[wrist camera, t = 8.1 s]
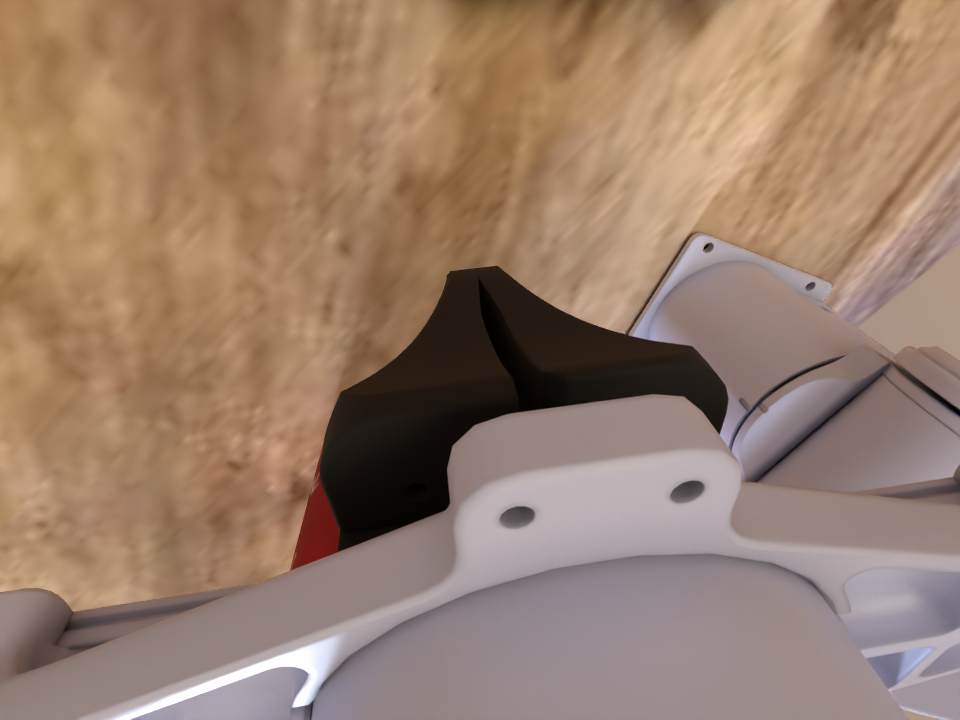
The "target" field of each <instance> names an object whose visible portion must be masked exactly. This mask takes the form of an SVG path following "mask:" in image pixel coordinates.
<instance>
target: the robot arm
mask: <svg viewBox="0 0 960 720" xmlns="http://www.w3.org/2000/svg"><path fill="white" fill-rule="evenodd" d="M708 243H710V244H709V247H708V248H707V249H704V250H703V248H704V246H705V245H706V244H708ZM809 283H810V284H809ZM808 284H809V285H808ZM807 285H808V286H807ZM806 286H807V287H806ZM831 290H832V285H831V284H830V283H829V282H827V281H825V280H823V279H820V278H818V277H815V276H813V275H810V274H807V273H805V272H802V271H800V270H797V269H795V268H792V267H789V266H787V265H784V264H782V263H779V262H777V261H774V260H771V259H769V258H766V257H764V256H761V255H759V254H756V253H753V252H751V251H748V250H746V249H743V248H741V247H738V246H735V245H733V244H730V243H728V242H725V241H723V240H720V239H717V238H715V237H712V236H710V235H707V234H705V233H700V232H699V233H696V234H694V235H692V236H691V237H690V239H689V240H688V242H687V243H686V245H685V246H684V248H683V249H682V251H681V252H680V254H679V256H678V257H677V259H676V260H675V262H674V263H673V265H672V267H671V268H670V270H669V271H668V273H667V274H666V276H665V277H664V279H663V281H662V282H661V284H660V285H659V287H658V288H657V290H656V292H655V293H654V295H653V296H652V298H651V299H650V301H649V302H648V304H647V306H646V307H645V309H644V310H643V312H642V313H641V315H640V317H639V318H638V320H637V321H636V323H635V324H634V326H633V327H632V329H631V331H630V332H629V334H628V335H625V334H621V333H618V332H614V331H611V330H608V329H605V328H602V327H599V326H596V325H593V324H590V323H588V322H585V321H582V320H580V319H578V318H576V317H574V316H572V315H569V314H567V313H565V312H563V311H561V310H559V309H557V308H556V307H554V306H552V305H550V304H549V303H547V302H545V301H544V300H542V299H541V298H539V297H538V296H536V295H535V294H533V293H532V292H530V291H529V290H527V289H526V288H525V287H523V286H522V285H521V284H519V283H518V282H517V281H516V280H514V279H513V278H512V277H510V276H509V275H508V274H507V273H506V272H504V271H503V270H502V269H501V268H499V267H498V266H492V267H483V268H475V269H466V270H457V271H450V272H449V274H448V275H447V279H446V284H445V287H444V290H443V293H442V295H441V297H440V299H439V302H438V304H437V306H436V308H435V310H434V312H433V313H432V315H431V317H430V318H429V320H428V322H427V323H426V325H425V326H424V328H423V329H422V331H421V332H420V333H419V335H418V336H417V337H416V338H415V339H414V341H413V342H412V343H411V344H410V345H409V346H408V347H407V348H406V349H405V350H404V351H403V352H402V353H401V354H400V355H399V356H398V357H397V358H395V359H394V360H393V361H392V362H390V363H389V364H388V365H386V366H385V367H384V368H382V369H381V370H379V371H378V372H376V373H375V374H373V375H372V376H370V377H368V378H367V379H365V380H363V381H361V382H359V383H358V384H356V385H354V386H352V387H350V388H348V389H346V390H344V391H342V392H341V393H340V395H339V398H338V400H337V402H336V405H335V408H334V410H333V413H332V416H331V418H330V421H329V424H328V427H327V430H326V434H325V438H324V443H323V449H322V456H321V462H320V468H319V473H320V478H321V484H322V487H323V490H324V492H325V495H326V497H327V500H328V502H329V505H330V507H331V510H332V512H333V515H334V517H335V520H336V522H337V525H338V528H339V530H340V535H339V544H338V552H337V553H335V554H332V555H330V556H327V557H324V558H322V559H319V560H317V561H314V562H312V563H309V564H306V565H304V566H301V567H299V568H296V569H294V570H291V571H288V572H286V573H283V574H281V575H278V576H276V577H273V578H270V579H268V580H265V581H263V582H260V583H258V584H252V585H245V586H239V587H232V588H226V589H219V590H212V591H206V592H199V593H193V594H186V595H180V596H173V597H167V598H160V599H154V600H147V601H141V602H134V603H128V604H121V605H115V606H108V607H102V608H95V609H89V610H82V611H76V612H73V611H72V610H71V608H70V607H69V606H68V604H67V603H66V602H65V601H64V600H63V599H62V598H61V597H60V596H59V595H57V594H55V593H53V592H51V591H48V590H44V589H39V588H26V589H19V590H13V591H6V592H0V720H909V719H908V718H907V716H906V715H905V713H904V712H903V710H902V709H904V710H907V711H911V712H915V713H919V714H922V715H926V716H929V717H934V718H937V719H942V720H960V361H959V360H958V359H956V358H955V357H953V356H951V355H950V354H948V353H947V352H945V351H944V350H942V349H940V348H939V347H920V348H918V349H916V348H914V347H910V346H909V347H905V348H903V349H902V350H901V351H900V352H899V353H897V354H896V355H895V354H893V353H892V352H891V351H889V350H888V349H886V348H885V347H884V346H882V345H881V344H879V343H878V342H877V341H875V340H874V339H872V338H871V337H869V336H868V335H867V334H865V333H864V332H863V331H861V330H860V329H858V328H857V327H856V326H854V325H853V324H851V323H850V322H849V321H847V320H846V319H844V318H843V317H842V316H840V315H839V314H837V313H836V312H835V311H833V310H832V309H830V308H829V307H828V306H826V305H825V304H823V303H822V302H823V301H824V300H825V298H826V297H827V296H828V295H829V294H830V292H831Z"/></svg>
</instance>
